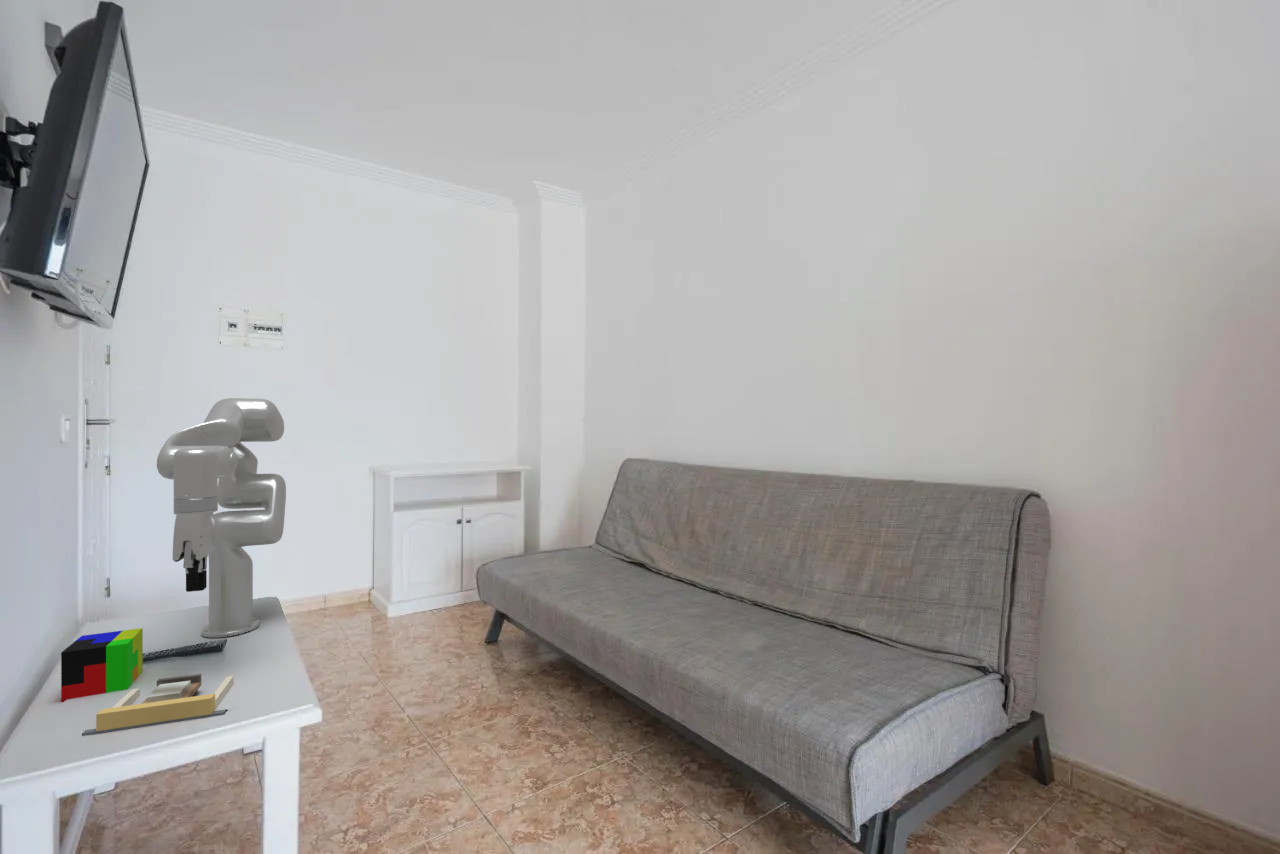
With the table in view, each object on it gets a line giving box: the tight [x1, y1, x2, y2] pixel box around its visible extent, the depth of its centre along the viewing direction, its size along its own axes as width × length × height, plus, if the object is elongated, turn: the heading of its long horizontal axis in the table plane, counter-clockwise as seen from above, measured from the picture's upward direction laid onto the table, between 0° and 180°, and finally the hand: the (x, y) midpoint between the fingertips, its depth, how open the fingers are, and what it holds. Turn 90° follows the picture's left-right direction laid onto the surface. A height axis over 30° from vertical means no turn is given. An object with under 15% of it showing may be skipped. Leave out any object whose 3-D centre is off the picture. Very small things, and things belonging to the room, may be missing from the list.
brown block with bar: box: [140, 673, 202, 704], centre depth 111 cm, size 9×7×4 cm
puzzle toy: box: [60, 627, 144, 703], centre depth 119 cm, size 10×10×10 cm
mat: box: [81, 675, 235, 737], centre depth 116 cm, size 26×21×3 cm
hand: (196, 589), depth 123 cm, fingers closed
